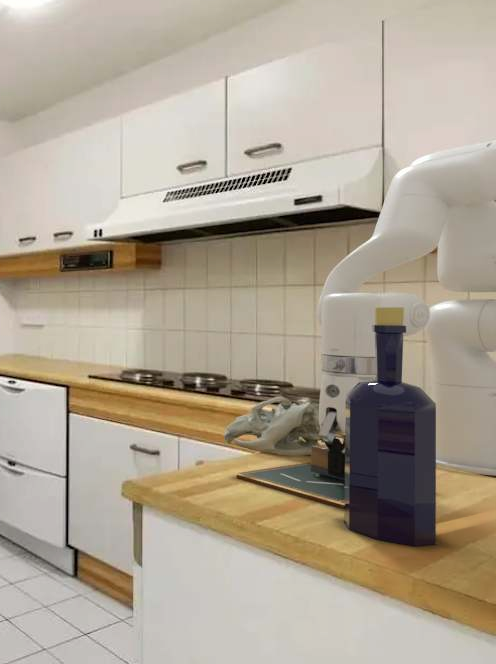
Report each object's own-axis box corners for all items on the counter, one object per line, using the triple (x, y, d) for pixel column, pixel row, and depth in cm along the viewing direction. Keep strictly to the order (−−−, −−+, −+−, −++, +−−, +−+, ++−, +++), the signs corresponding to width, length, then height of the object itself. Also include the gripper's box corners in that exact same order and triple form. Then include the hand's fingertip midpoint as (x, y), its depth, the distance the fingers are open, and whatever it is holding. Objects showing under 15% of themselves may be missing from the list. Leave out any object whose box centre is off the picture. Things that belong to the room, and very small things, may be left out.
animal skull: (224, 472, 116) (202, 415, 116) (241, 447, 124) (221, 394, 124) (330, 473, 102) (306, 408, 102) (342, 444, 110) (320, 385, 110)
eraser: (326, 469, 97) (327, 444, 97) (391, 485, 88) (392, 457, 88) (310, 471, 95) (311, 445, 95) (374, 488, 87) (375, 459, 87)
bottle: (459, 549, 68) (460, 307, 67) (372, 543, 69) (373, 307, 69) (401, 521, 77) (402, 307, 76) (325, 516, 78) (326, 307, 78)
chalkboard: (317, 466, 104) (317, 460, 104) (429, 493, 89) (429, 486, 89) (236, 478, 96) (236, 472, 96) (344, 510, 81) (344, 502, 81)
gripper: (345, 370, 85) (344, 487, 85) (409, 367, 91) (408, 476, 91) (292, 366, 92) (292, 474, 92) (354, 362, 98) (354, 464, 98)
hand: (349, 474), depth 92 cm, fingers closed on eraser, 4 cm apart
